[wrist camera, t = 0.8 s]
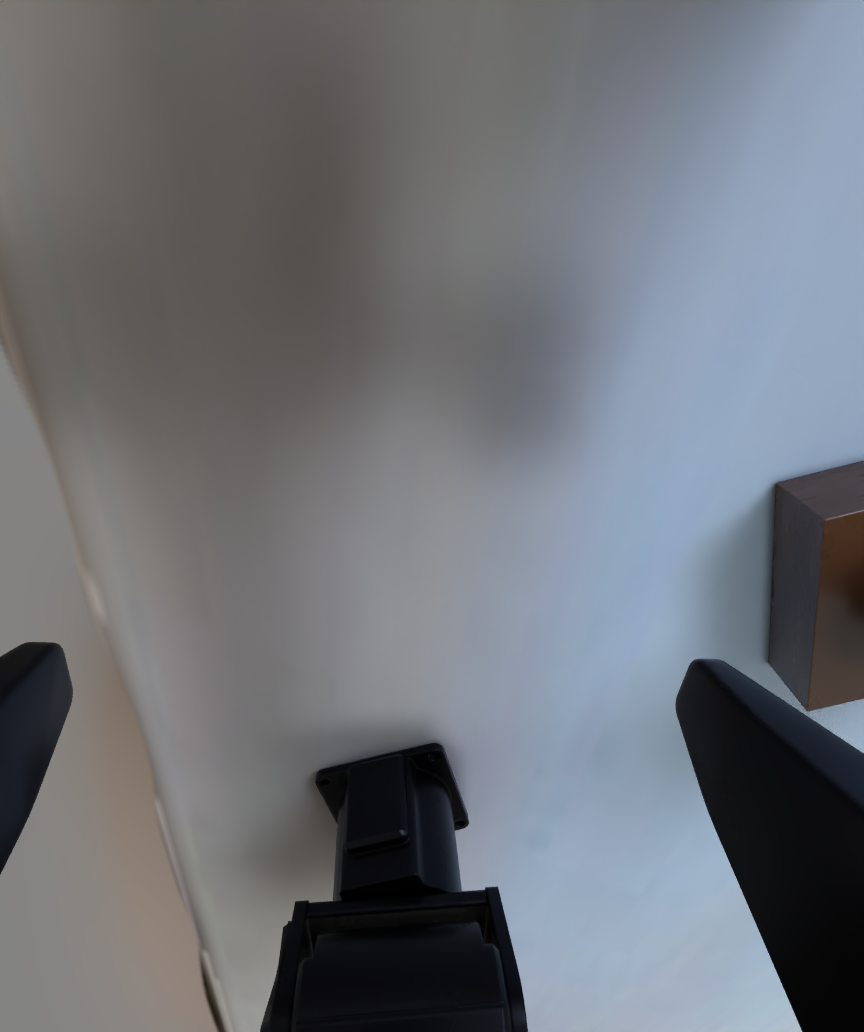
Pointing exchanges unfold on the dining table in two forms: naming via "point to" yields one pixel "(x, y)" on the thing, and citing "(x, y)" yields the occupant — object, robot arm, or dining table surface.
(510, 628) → the dining table surface
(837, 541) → the walnut block
